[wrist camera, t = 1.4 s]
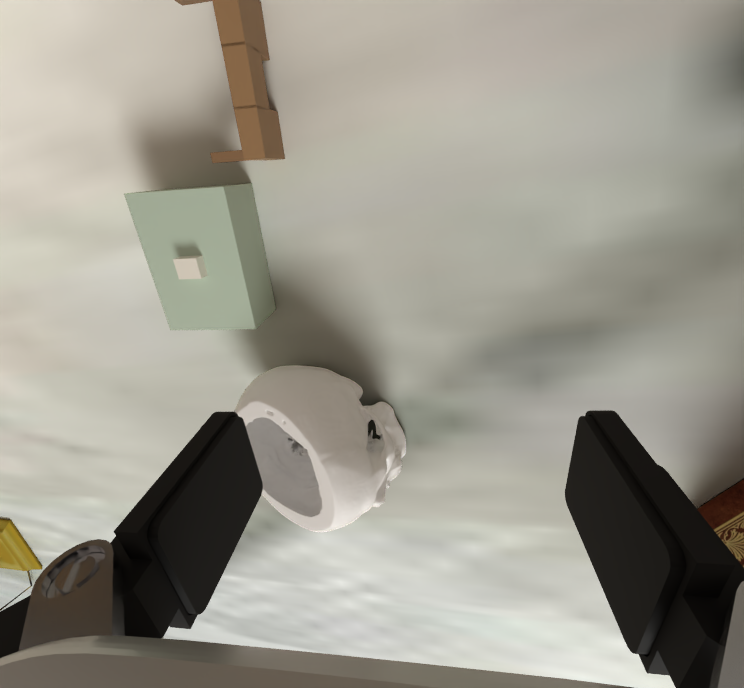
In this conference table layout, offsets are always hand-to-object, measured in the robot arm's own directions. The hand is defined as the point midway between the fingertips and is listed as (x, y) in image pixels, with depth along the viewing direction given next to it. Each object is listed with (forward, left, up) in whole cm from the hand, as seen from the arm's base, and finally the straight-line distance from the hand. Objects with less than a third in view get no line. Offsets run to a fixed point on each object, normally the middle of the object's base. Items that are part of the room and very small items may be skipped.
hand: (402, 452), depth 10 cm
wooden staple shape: (-15, -16, -32) cm, 38 cm away
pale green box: (0, -22, -32) cm, 39 cm away
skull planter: (+22, -11, -32) cm, 40 cm away
